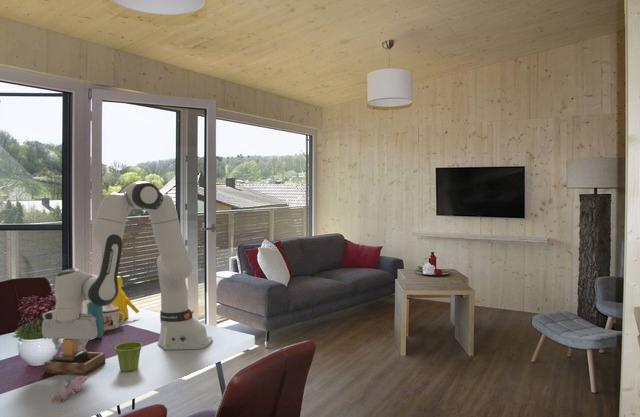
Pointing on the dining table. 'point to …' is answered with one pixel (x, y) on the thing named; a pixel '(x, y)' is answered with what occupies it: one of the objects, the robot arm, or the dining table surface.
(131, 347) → the plant pot
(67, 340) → the orange square peg
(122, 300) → the figure statuette
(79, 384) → the rabbit figure
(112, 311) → the teacup with lid
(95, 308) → the beverage bottle
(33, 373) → the dining table surface
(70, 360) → the socket
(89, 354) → the crate
